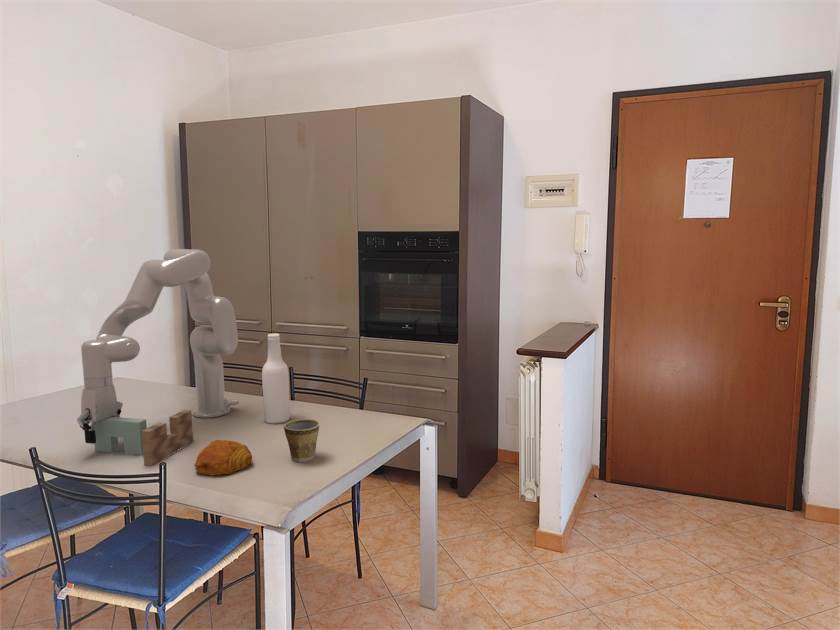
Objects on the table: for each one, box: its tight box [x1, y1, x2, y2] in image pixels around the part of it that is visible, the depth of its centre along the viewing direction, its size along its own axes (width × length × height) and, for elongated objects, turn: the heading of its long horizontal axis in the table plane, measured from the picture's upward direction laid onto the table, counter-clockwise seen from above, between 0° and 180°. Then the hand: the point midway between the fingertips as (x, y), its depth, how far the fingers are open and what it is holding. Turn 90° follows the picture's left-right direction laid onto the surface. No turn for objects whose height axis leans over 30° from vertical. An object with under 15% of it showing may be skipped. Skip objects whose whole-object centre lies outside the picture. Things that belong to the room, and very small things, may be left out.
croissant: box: [194, 439, 253, 476], centre depth 172 cm, size 14×16×8 cm
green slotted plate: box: [92, 416, 148, 456], centre depth 184 cm, size 16×3×10 cm, turn 77°
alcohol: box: [261, 333, 291, 425], centre depth 210 cm, size 9×9×30 cm
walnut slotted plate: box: [142, 409, 194, 467], centre depth 182 cm, size 20×2×10 cm, turn 167°
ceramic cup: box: [283, 418, 320, 463], centre depth 179 cm, size 13×10×10 cm
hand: (102, 437), depth 185 cm, fingers open, 9 cm apart
